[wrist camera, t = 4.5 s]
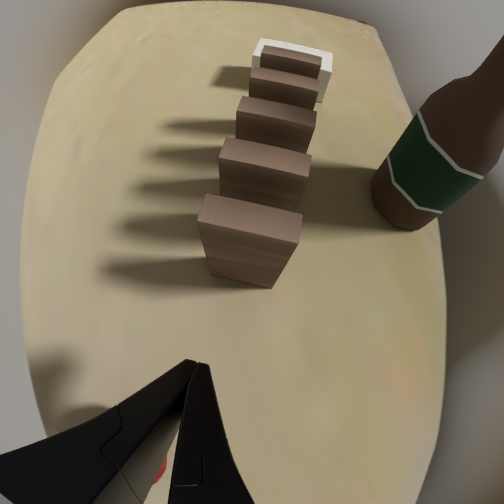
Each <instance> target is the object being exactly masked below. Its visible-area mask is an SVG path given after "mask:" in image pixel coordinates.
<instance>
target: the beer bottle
mask: <svg viewBox="0 0 504 504" xmlns="http://www.w3.org/2000/svg"><path fill="white" fill-rule="evenodd" d="M503 148H504V36H503V37H502V38H501V40H500V41H499V42H498V44H497V45H496V46H495V48H494V49H493V50H492V52H491V53H490V54H489V56H488V57H487V58H486V59H485V61H484V62H483V63H482V64H481V66H480V67H479V68H478V69H477V70H476V71H475V72H474V73H473V74H471V75H470V76H467V77H462V78H459V79H454V80H453V81H451V82H449V83H448V84H446V85H445V86H443V87H442V88H440V89H439V90H437V91H436V92H434V93H433V94H431V95H430V96H429V98H428V99H427V100H426V102H425V103H424V104H423V105H422V107H421V108H420V109H419V110H418V112H417V113H416V115H415V116H414V118H413V119H412V121H411V122H410V124H409V125H408V127H407V128H406V130H405V131H404V133H403V134H402V136H401V137H400V139H399V140H398V141H397V143H396V144H395V146H394V147H393V149H392V150H391V151H390V153H389V154H388V156H387V157H386V159H385V160H384V161H383V163H382V164H381V166H380V167H379V168H378V170H377V171H376V173H375V175H374V176H373V178H372V180H371V187H372V193H373V200H374V207H375V208H376V209H377V210H378V211H379V212H380V213H381V214H382V215H383V216H384V217H385V218H386V220H387V221H388V222H389V223H390V224H391V225H392V226H393V227H398V228H404V229H410V230H419V229H420V228H422V227H424V226H425V225H427V224H428V223H429V222H431V221H432V220H433V219H434V218H436V217H437V216H438V215H439V214H441V213H442V212H443V211H444V210H446V209H447V208H448V207H449V206H451V205H452V204H453V203H454V202H456V201H457V200H458V199H459V198H460V197H462V196H463V195H464V194H465V193H466V192H467V191H469V190H470V189H471V188H472V187H473V186H474V185H476V184H477V183H478V182H479V181H480V180H481V179H482V178H484V177H485V176H486V174H487V173H488V172H489V171H490V170H491V169H492V168H493V167H494V166H495V165H496V163H497V162H498V159H499V157H500V155H501V153H502V150H503Z"/></svg>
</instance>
